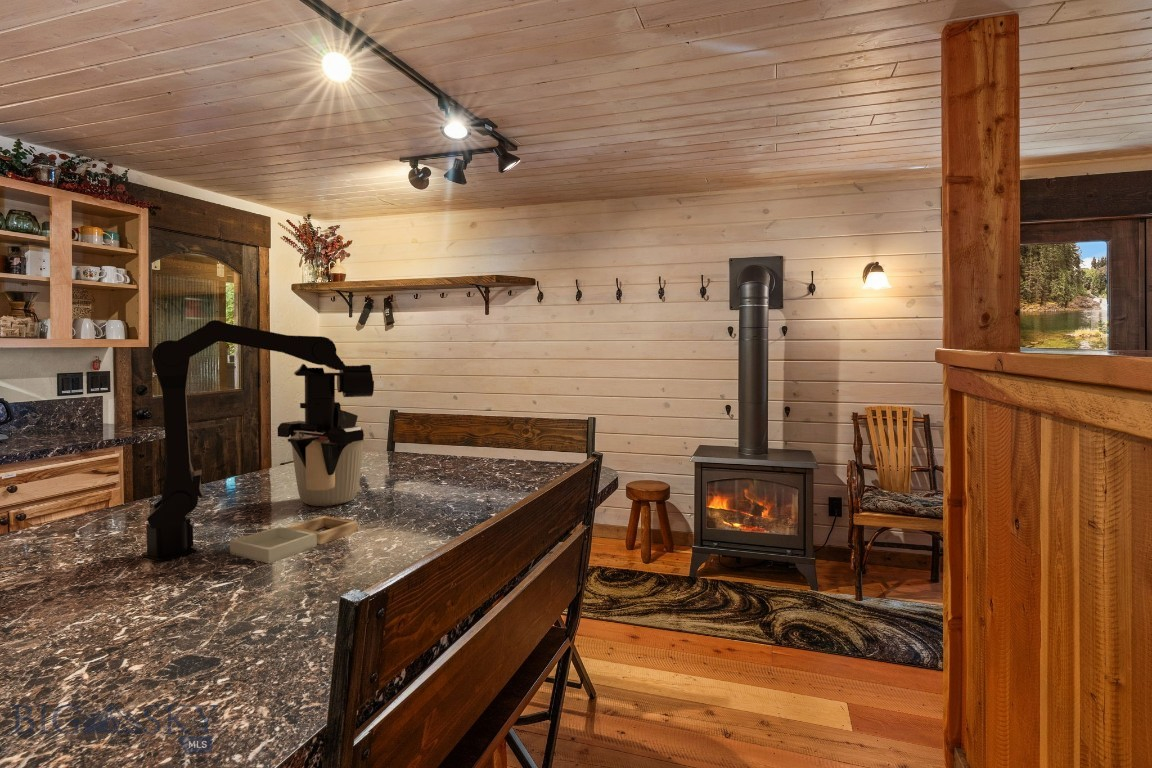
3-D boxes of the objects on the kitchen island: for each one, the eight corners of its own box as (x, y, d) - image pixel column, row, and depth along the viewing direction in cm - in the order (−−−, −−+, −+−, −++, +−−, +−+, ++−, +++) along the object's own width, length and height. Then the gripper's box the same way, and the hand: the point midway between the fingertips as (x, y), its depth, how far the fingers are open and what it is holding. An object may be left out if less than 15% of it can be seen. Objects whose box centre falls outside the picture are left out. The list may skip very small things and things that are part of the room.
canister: (272, 507, 149) (270, 420, 148) (323, 490, 166) (322, 412, 165) (335, 513, 144) (334, 423, 143) (381, 496, 161) (380, 415, 160)
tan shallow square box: (320, 544, 122) (320, 534, 122) (285, 537, 126) (285, 527, 126) (358, 531, 131) (358, 521, 131) (324, 524, 135) (324, 515, 135)
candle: (315, 492, 124) (314, 442, 123) (300, 488, 127) (300, 439, 127) (340, 487, 128) (339, 439, 128) (325, 483, 132) (325, 437, 131)
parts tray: (268, 563, 111) (268, 549, 111) (230, 554, 116) (229, 540, 116) (316, 546, 121) (316, 533, 121) (279, 538, 125) (278, 526, 125)
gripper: (383, 397, 130) (383, 471, 131) (318, 393, 138) (319, 462, 139) (341, 401, 120) (342, 481, 121) (275, 396, 128) (276, 471, 129)
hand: (320, 473), depth 127 cm, fingers closed on candle, 5 cm apart
